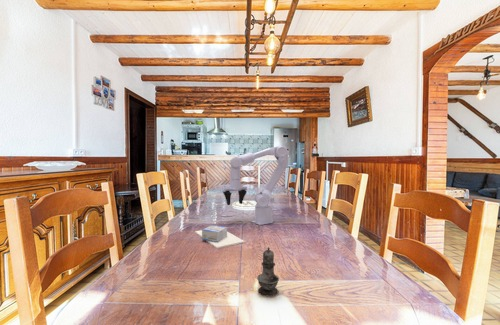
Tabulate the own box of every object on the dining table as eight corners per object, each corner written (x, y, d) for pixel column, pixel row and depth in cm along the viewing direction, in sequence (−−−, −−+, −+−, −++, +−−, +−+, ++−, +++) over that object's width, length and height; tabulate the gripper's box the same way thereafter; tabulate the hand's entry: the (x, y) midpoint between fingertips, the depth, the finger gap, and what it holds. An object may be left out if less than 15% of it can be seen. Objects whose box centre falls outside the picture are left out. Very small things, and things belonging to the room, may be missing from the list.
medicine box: (227, 226, 109) (217, 231, 101) (227, 236, 109) (217, 242, 101) (211, 224, 112) (201, 229, 104) (211, 234, 112) (201, 240, 104)
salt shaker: (255, 285, 69) (256, 243, 69) (276, 285, 69) (277, 243, 69) (258, 297, 63) (258, 251, 63) (280, 296, 64) (281, 250, 63)
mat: (219, 228, 124) (219, 227, 124) (244, 242, 103) (244, 241, 103) (194, 232, 116) (194, 231, 116) (216, 248, 96) (216, 247, 96)
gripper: (242, 178, 141) (242, 201, 141) (219, 178, 132) (219, 204, 133) (249, 179, 135) (248, 204, 135) (226, 180, 127) (225, 206, 127)
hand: (234, 204), depth 134 cm, fingers open, 7 cm apart
